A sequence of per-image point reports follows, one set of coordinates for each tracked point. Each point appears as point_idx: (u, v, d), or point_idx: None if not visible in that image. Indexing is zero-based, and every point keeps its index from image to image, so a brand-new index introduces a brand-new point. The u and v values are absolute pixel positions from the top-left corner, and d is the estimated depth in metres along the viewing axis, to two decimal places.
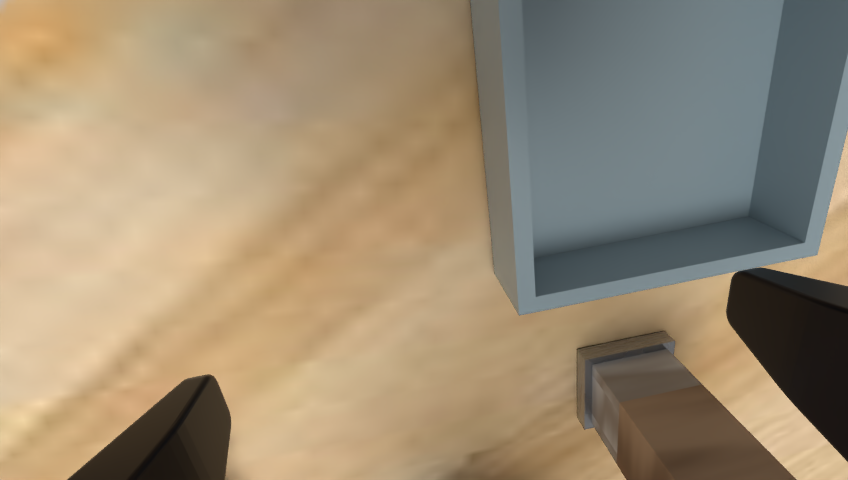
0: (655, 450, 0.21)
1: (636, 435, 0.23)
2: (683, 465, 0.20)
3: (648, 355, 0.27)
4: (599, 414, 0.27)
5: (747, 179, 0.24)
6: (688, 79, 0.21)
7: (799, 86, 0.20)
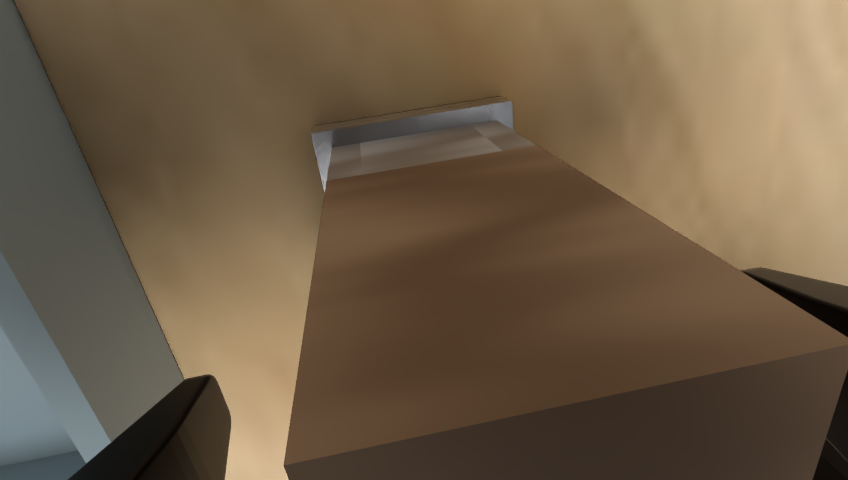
0: None
1: None
2: None
3: None
4: None
5: None
6: None
7: None
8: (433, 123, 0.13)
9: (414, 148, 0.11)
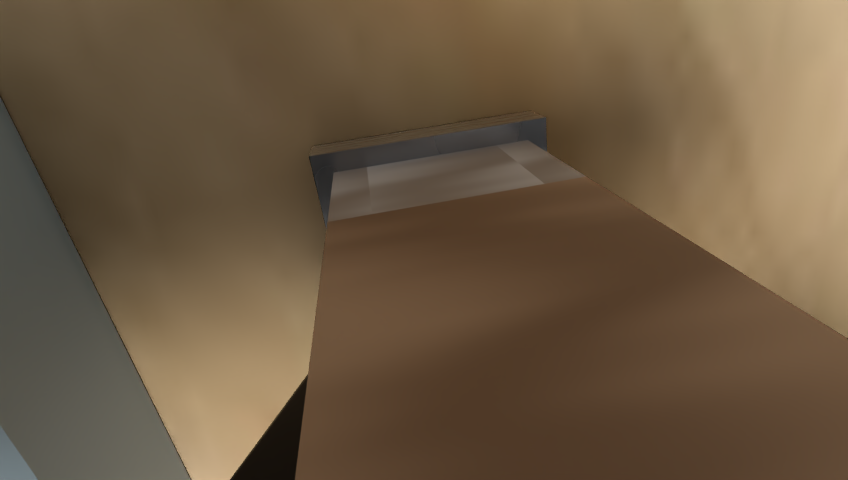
0: None
1: None
2: None
3: None
4: None
5: None
6: None
7: None
8: (452, 143, 0.11)
9: (433, 176, 0.09)
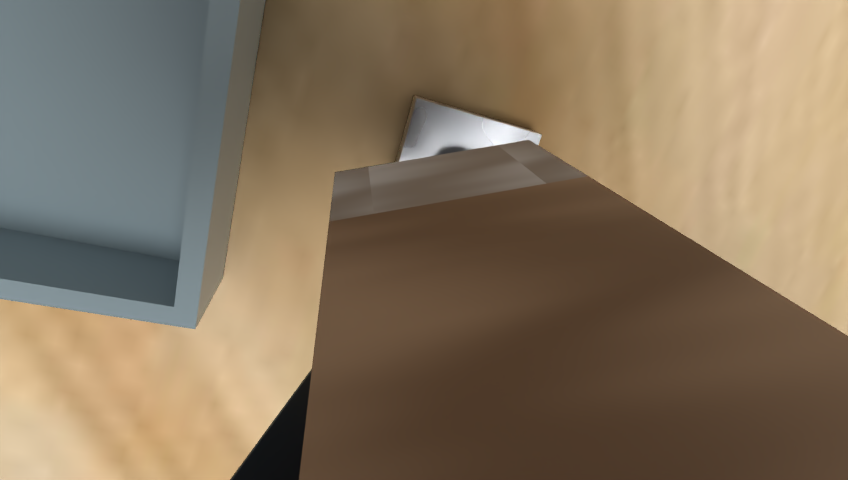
0: None
1: None
2: None
3: None
4: None
5: None
6: None
7: None
8: (491, 126, 0.19)
9: (434, 176, 0.09)
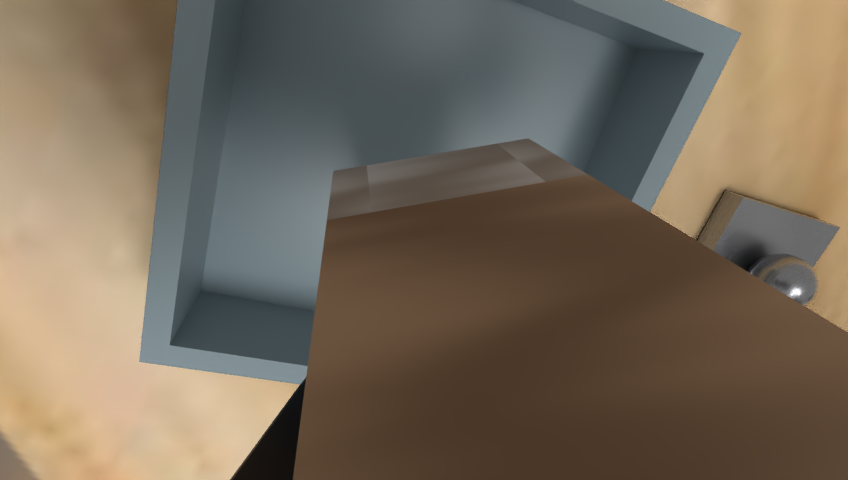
0: None
1: None
2: None
3: None
4: None
5: (581, 41, 0.16)
6: (398, 102, 0.16)
7: None
8: (798, 221, 0.20)
9: (433, 174, 0.09)
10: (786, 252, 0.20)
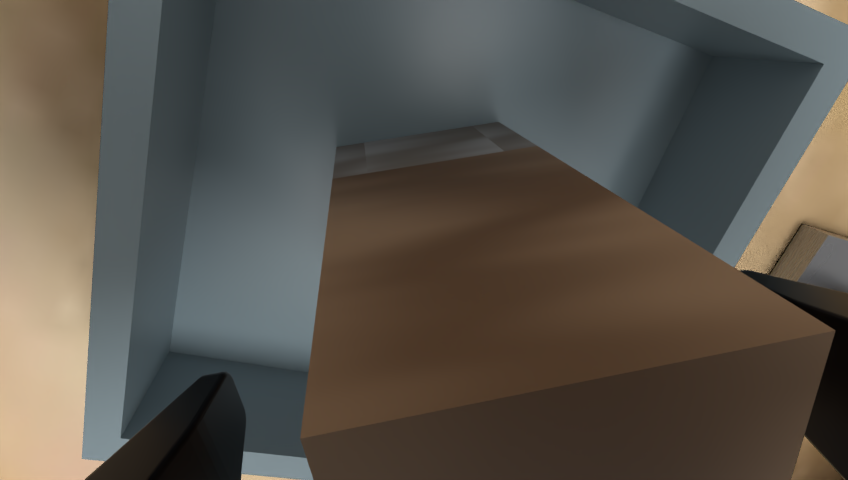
0: None
1: None
2: None
3: None
4: None
5: (644, 46, 0.13)
6: (414, 123, 0.13)
7: None
8: None
9: (417, 148, 0.11)
10: None
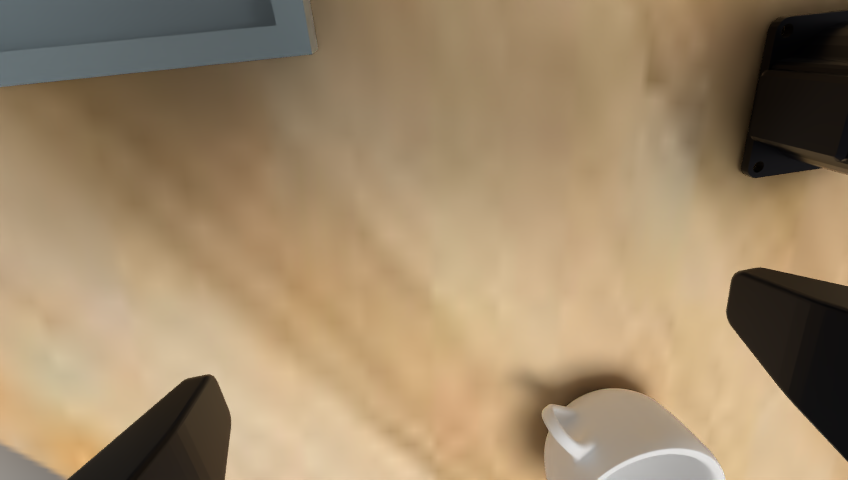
0: None
1: None
2: None
3: None
4: None
5: None
6: None
7: None
8: None
9: None
10: None
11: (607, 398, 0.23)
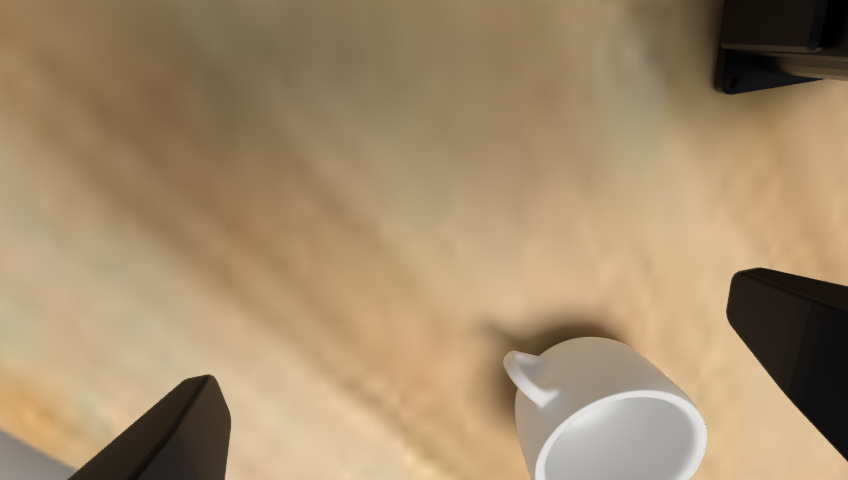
0: None
1: None
2: None
3: None
4: None
5: None
6: None
7: None
8: None
9: None
10: None
11: (577, 345, 0.22)
